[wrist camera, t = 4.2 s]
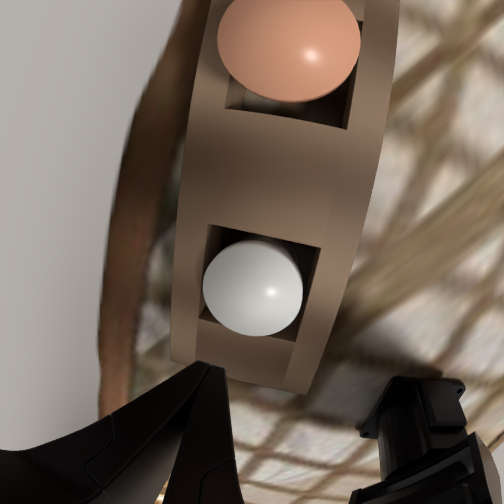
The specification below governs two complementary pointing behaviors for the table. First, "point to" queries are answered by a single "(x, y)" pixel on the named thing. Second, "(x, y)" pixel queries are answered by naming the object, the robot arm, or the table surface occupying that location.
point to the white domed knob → (254, 285)
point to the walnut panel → (277, 201)
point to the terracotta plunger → (289, 46)
